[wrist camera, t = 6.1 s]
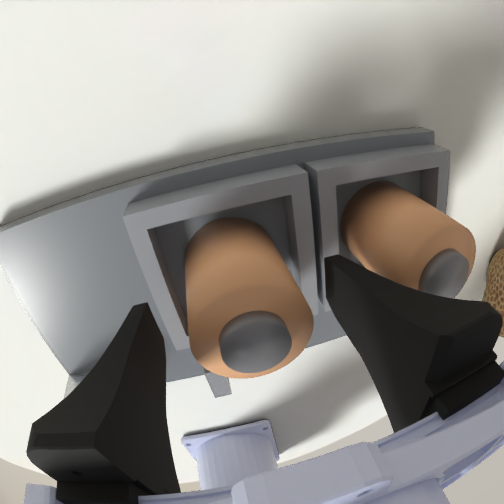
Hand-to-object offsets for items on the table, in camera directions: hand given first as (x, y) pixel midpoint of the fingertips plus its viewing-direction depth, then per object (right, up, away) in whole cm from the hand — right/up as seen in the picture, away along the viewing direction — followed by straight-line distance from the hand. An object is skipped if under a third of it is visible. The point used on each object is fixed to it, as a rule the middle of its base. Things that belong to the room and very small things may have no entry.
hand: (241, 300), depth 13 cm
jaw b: (-1, +2, +3) cm, 3 cm away
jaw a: (+7, +4, +4) cm, 9 cm away
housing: (-1, +1, +5) cm, 5 cm away
